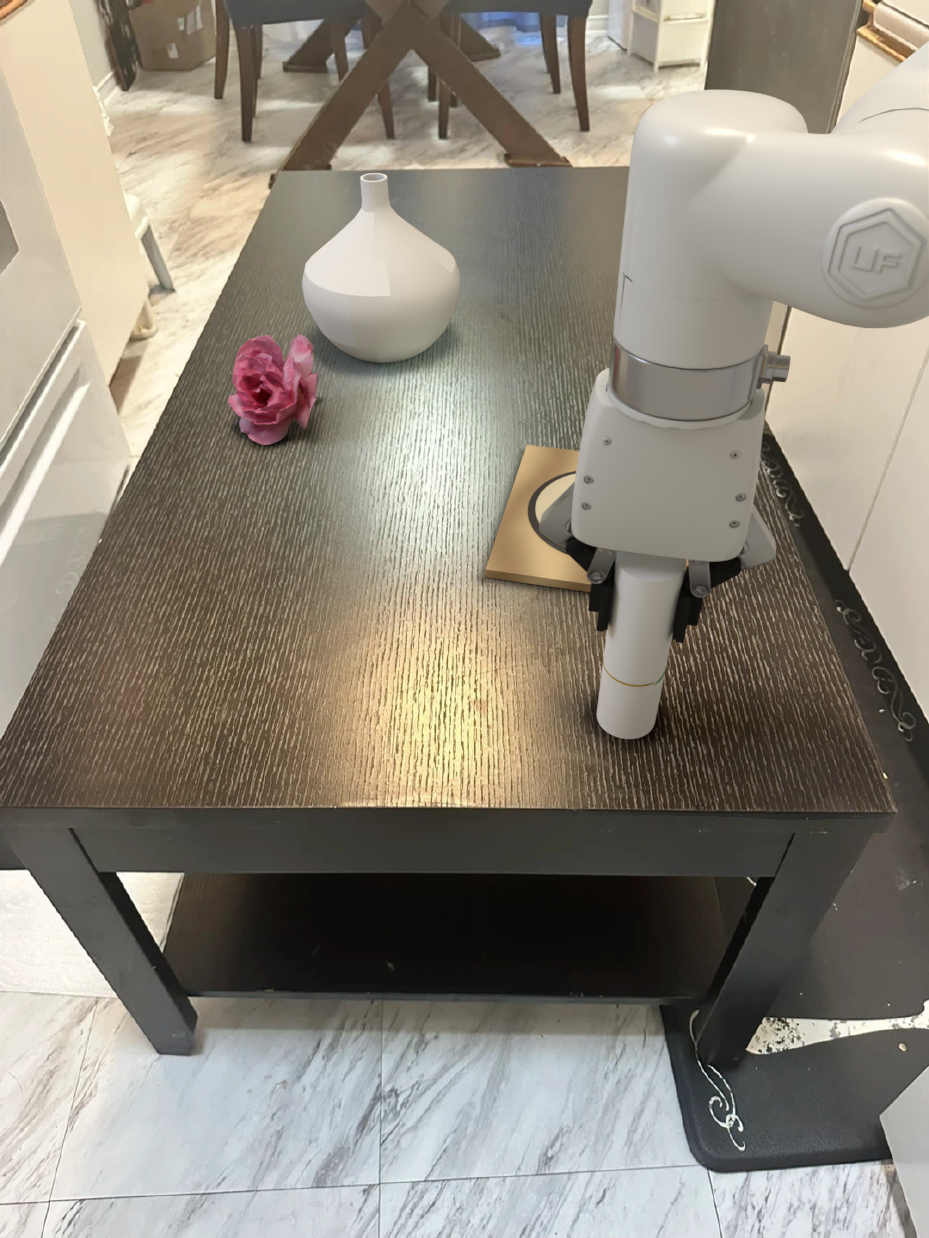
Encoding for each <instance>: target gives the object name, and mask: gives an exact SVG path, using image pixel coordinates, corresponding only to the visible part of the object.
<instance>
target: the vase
mask: <svg viewBox="0 0 929 1238" xmlns="http://www.w3.org/2000/svg"><path fill="white" fill-rule="evenodd" d="M359 181H360V182H359V183H360V194H361V207H360V209H359V210H358V212H357V214H356V215H355V217H354V218H353V219H352V220H350V221H349V222H348V224H346V225H345V226H344V227H343V228H342V229H341V230H340V231H338V232H337V233H336V235H334V236H333V238H331V239H330V240H329V241H328V242H326V243H325V244H324V245H323V246H322V247H321V248H319V249H318V250H317V251H315V253H314V254H312V255H311V256H310V257H309V259H308V260H307V261H306V262H305V265H304V270H303V273H302V279H301V287H302V293H303V294H302V295H303V301H304V303H305V305H306V308H307V309H308V311H309V313H310V315H311V317H312V318H313V321H314V322H315V323H316V325H317V327H318V329H319V330H320V333H322V335H323V336H325V338H327V339H328V340H329V341H330V343H332V344H333V345H334V346H335V347H336V348H338V349H339V350H340V351H342V352H344V353H346V354H347V355H349V356H351V357H353V358H356V359H357V360H360V361H364V362H368V363H378V364H382V363H383V364H384V363H385V364H387V363H397V362H403V361H406V360H409V359H412V358H414V357H416V356H418V355H419V354H421V353H423V352H424V351H426V350H428V348H430V347H431V346H432V345H433V344H434V343H436V342H437V341H438V339H439V338H440V337H441V335H443V333H444V332H445V331H446V329H447V328H448V326H449V323H450V321H451V319H452V316H453V315H454V311H455V309H456V307H457V304H458V302H459V299H460V297H461V275H460V270H459V267H458V264H457V262H456V258H455V257H454V256H453V254H451V252H450V251H449V250H448V249H446V248H445V247H443V246H442V245H440V244H439V243H438V242H436V241H434V240H433V239H431V238H430V237H428V236H427V235H426V234H424V233H423V232H421V231H420V230H418V229H417V228H416V227H414V226H413V225H412V224H410V223H409V222H408V221H406V220H405V219H404V218H403V217H401V216H400V215H398V213H396V211H395V209H393V207H392V206H391V203H390V197H389V182H388V176H387V174H384V173H381V172H370V173H364V174H362V175H360V177H359Z"/></svg>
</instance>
